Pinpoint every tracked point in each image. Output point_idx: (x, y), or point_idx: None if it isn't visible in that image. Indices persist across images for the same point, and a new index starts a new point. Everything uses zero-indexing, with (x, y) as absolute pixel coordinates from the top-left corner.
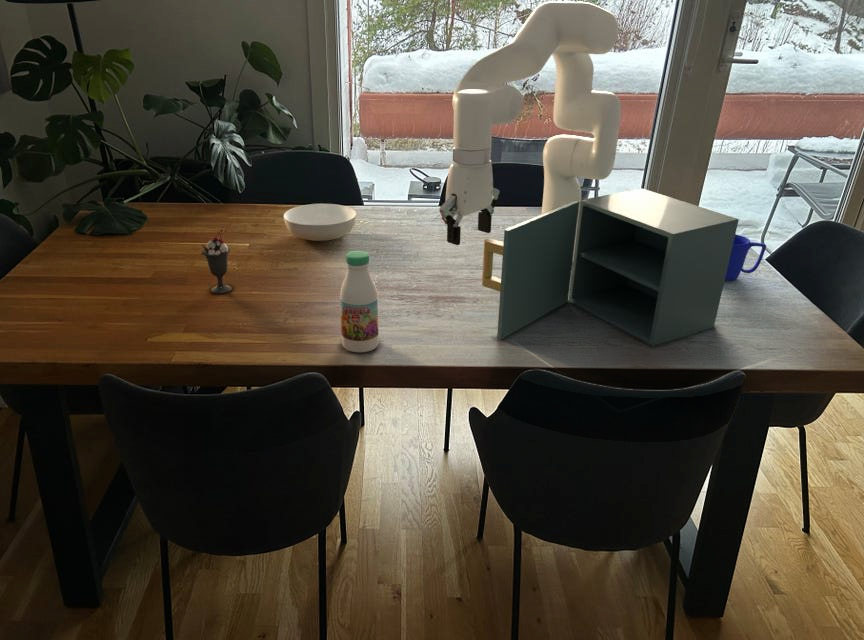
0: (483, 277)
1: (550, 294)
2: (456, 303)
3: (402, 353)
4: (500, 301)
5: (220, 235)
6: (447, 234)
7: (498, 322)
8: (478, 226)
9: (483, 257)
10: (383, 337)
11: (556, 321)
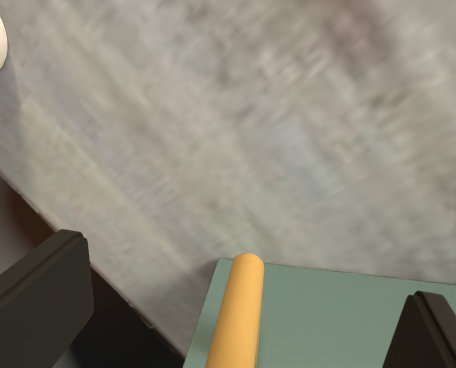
0: (227, 282)
1: None
2: (333, 62)
3: (26, 140)
4: (196, 327)
5: None
6: (24, 260)
7: (210, 283)
8: (418, 319)
9: (215, 337)
10: (33, 49)
11: None
